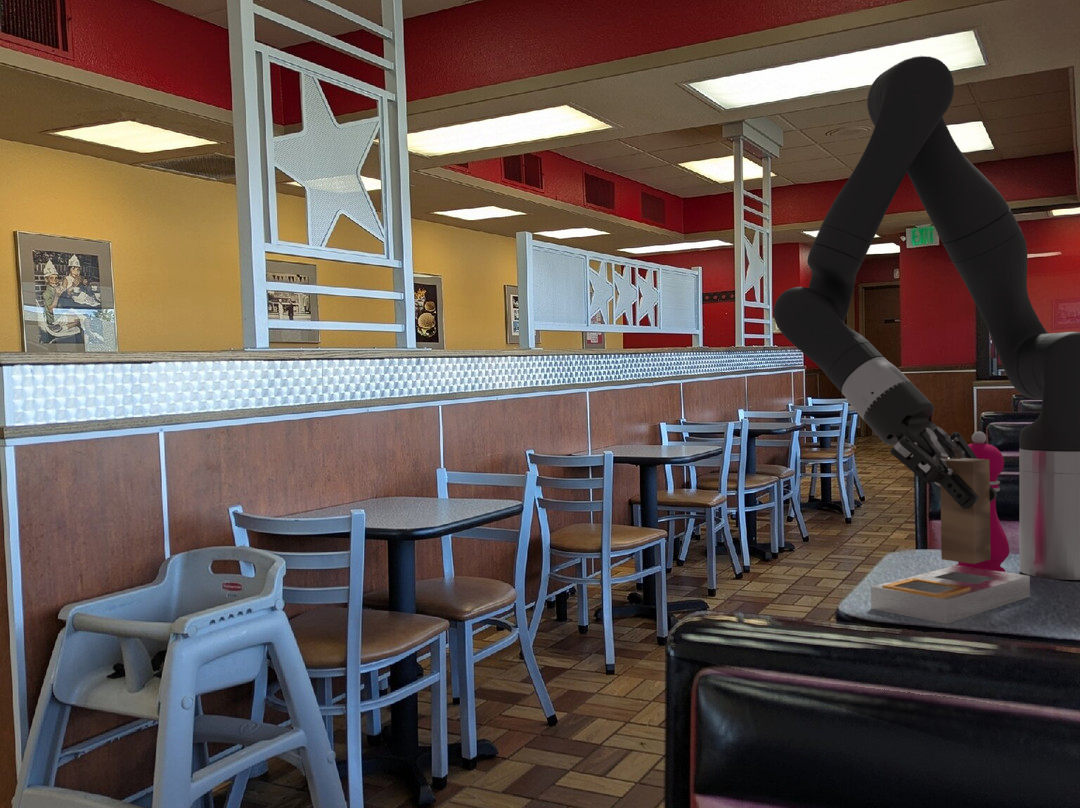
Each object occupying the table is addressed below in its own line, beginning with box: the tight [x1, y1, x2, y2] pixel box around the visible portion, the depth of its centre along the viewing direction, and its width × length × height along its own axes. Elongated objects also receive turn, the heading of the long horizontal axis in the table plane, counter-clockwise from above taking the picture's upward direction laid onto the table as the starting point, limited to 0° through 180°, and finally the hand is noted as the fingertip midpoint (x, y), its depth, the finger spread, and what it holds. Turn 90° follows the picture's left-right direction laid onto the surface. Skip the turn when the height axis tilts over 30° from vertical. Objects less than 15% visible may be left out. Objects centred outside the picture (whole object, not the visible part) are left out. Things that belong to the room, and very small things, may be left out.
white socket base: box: [870, 564, 1031, 624], centre depth 109 cm, size 20×9×3 cm, turn 129°
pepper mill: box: [954, 430, 1010, 572], centre depth 123 cm, size 7×7×20 cm
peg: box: [940, 458, 991, 564], centre depth 111 cm, size 4×4×12 cm
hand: (981, 502), depth 109 cm, fingers closed on peg, 4 cm apart
